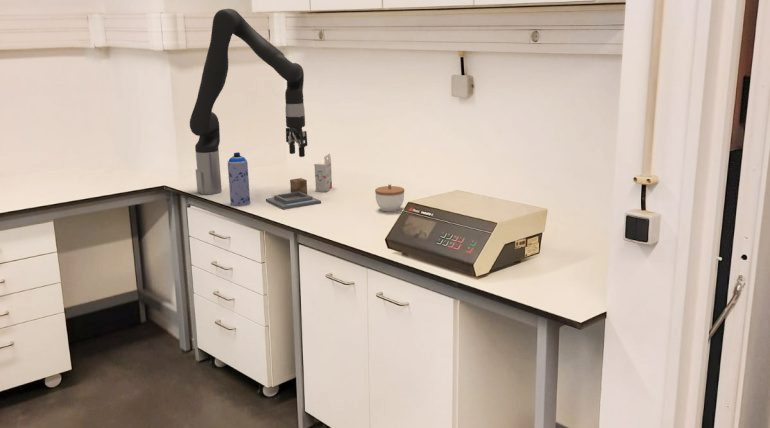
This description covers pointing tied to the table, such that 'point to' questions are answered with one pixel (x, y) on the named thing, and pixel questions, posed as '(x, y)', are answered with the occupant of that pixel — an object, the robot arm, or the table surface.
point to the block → (298, 185)
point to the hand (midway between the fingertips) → (297, 155)
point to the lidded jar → (389, 197)
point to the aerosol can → (238, 180)
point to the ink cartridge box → (323, 174)
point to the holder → (292, 200)
